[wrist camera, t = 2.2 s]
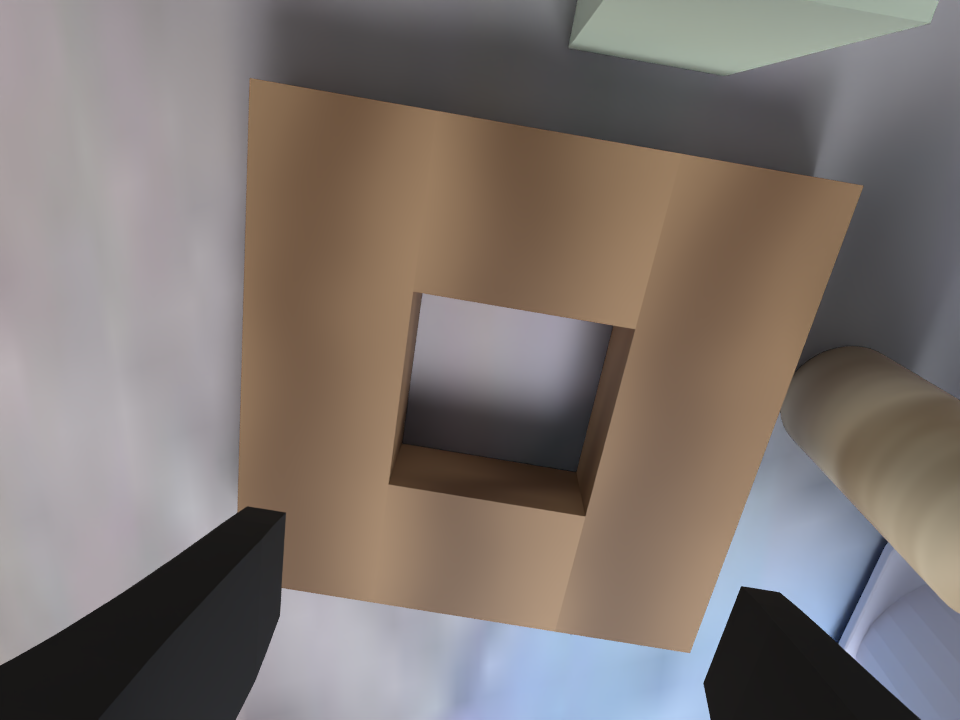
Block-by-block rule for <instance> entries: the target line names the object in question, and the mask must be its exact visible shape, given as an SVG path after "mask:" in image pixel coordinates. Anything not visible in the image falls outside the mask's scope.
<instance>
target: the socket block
mask: <svg viewBox="0 0 960 720" xmlns="http://www.w3.org/2000/svg"><path fill="white" fill-rule="evenodd" d="M862 189H863V186H862V185H857V184H851V183H845V182H840V181H834V180H828V179H823V178H817V177H811V176H805V175H800V174H794V173H788V172H783V171H777V170H771V169H766V168H760V167H754V166H748V165H743V164H737V163H731V162H726V161H720V160H714V159H708V158H703V157H697V156H691V155H686V154H680V153H674V152H669V151H663V150H657V149H651V148H646V147H640V146H634V145H629V144H623V143H617V142H612V141H606V140H600V139H594V138H589V137H583V136H577V135H572V134H566V133H560V132H554V131H549V130H543V129H537V128H532V127H526V126H520V125H515V124H509V123H503V122H497V121H492V120H486V119H480V118H475V117H469V116H463V115H458V114H452V113H446V112H440V111H435V110H429V109H423V108H418V107H412V106H406V105H401V104H395V103H389V102H383V101H378V100H372V99H366V98H361V97H355V96H349V95H343V94H338V93H332V92H326V91H321V90H315V89H309V88H304V87H298V86H292V85H286V84H281V83H275V82H269V81H264V80H258V79H252V78H250V86H249V121H248V157H247V192H246V228H245V263H244V299H243V335H242V370H241V406H240V441H239V477H238V512H239V511H241V510H242V509H244V508H245V507H247V506H249V507H255V508H262V509H268V510H274V511H280V512H286V523H285V539H284V556H283V572H282V588H286V589H292V590H298V591H305V592H311V593H317V594H323V595H330V596H336V597H342V598H348V599H355V600H361V601H367V602H373V603H380V604H386V605H392V606H399V607H405V608H411V609H417V610H424V611H430V612H436V613H442V614H449V615H455V616H461V617H467V618H474V619H480V620H486V621H492V622H499V623H505V624H511V625H518V626H524V627H530V628H536V629H543V630H549V631H555V632H561V633H568V634H574V635H580V636H586V637H593V638H599V639H605V640H611V641H618V642H624V643H630V644H637V645H643V646H649V647H655V648H662V649H668V650H674V651H680V652H687V653H690V651H691V649H692V646H693V643H694V641H695V638H696V635H697V633H698V630H699V627H700V625H701V622H702V619H703V616H704V614H705V611H706V608H707V606H708V603H709V600H710V598H711V595H712V592H713V590H714V587H715V584H716V581H717V579H718V576H719V573H720V571H721V568H722V565H723V563H724V560H725V557H726V555H727V552H728V549H729V547H730V544H731V541H732V538H733V536H734V533H735V530H736V528H737V525H738V522H739V520H740V517H741V514H742V512H743V509H744V506H745V503H746V501H747V498H748V495H749V493H750V490H751V487H752V485H753V482H754V479H755V477H756V474H757V471H758V469H759V466H760V463H761V460H762V458H763V455H764V452H765V450H766V447H767V444H768V442H769V439H770V436H771V434H772V431H773V428H774V425H775V423H776V420H777V417H778V415H779V412H780V409H781V407H782V404H783V401H784V399H785V396H786V393H787V391H788V388H789V385H790V382H791V380H792V377H793V374H794V372H795V369H796V366H797V364H798V361H799V358H800V356H801V353H802V350H803V347H804V345H805V342H806V339H807V337H808V334H809V331H810V329H811V326H812V323H813V321H814V318H815V315H816V313H817V310H818V307H819V304H820V302H821V299H822V296H823V294H824V291H825V288H826V286H827V283H828V280H829V278H830V275H831V272H832V269H833V267H834V264H835V261H836V259H837V256H838V253H839V251H840V248H841V245H842V243H843V240H844V237H845V235H846V232H847V229H848V226H849V224H850V221H851V218H852V216H853V213H854V210H855V208H856V205H857V202H858V200H859V197H860V194H861V191H862ZM422 293H425V294H430V295H436V296H442V297H448V298H454V299H460V300H466V301H472V302H478V303H484V304H489V305H495V306H501V307H507V308H513V309H519V310H525V311H531V312H537V313H543V314H548V315H554V316H560V317H566V318H572V319H578V320H584V321H590V322H596V323H602V324H607V325H613V329H612V333H611V337H610V341H609V345H608V349H607V353H606V357H605V361H604V365H603V369H602V373H601V377H600V381H599V385H598V389H597V392H596V396H595V400H594V404H593V408H592V412H591V416H590V420H589V424H588V428H587V432H586V436H585V440H584V444H583V448H582V452H581V456H580V460H579V464H578V468H577V472H572V471H565V470H559V469H553V468H547V467H541V466H535V465H529V464H523V463H517V462H511V461H505V460H499V459H493V458H487V457H481V456H474V455H468V454H462V453H456V452H450V451H444V450H438V449H432V448H426V447H420V446H414V445H408V444H402V440H403V433H404V425H405V418H406V411H407V403H408V396H409V388H410V381H411V373H412V366H413V358H414V351H415V343H416V336H417V328H418V321H419V313H420V306H421V299H422ZM238 512H237V513H238Z"/></svg>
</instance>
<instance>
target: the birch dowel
mask: <svg viewBox="0 0 960 720" xmlns="http://www.w3.org/2000/svg"><path fill="white" fill-rule="evenodd" d="M781 419H782V422H783V425H784V427H785V429H786V431H787V433H788V434H789V435H790V437H791V438H792V439H793V440H794V441H795V442H796V443H797V444H798V445H799V446H800V448H801V449H802V450H803V451H804V452H805V453H806V454H807V455H808V456H809V457H810V458H811V459H812V460H813V462H814V463H815V464H816V465H817V466H818V467H819V468H820V469H821V470H822V471H823V472H824V473H825V474H826V476H827V477H828V478H829V479H830V480H831V481H832V482H833V483H834V484H835V485H836V486H837V487H838V488H839V490H840V491H841V492H842V493H843V494H844V495H845V496H846V497H847V498H848V499H849V500H850V501H851V502H852V504H853V505H854V506H855V507H856V508H857V509H858V510H859V511H860V512H861V513H862V514H863V515H864V516H865V518H866V519H867V520H868V521H869V522H870V523H871V524H872V525H873V526H874V527H875V528H876V529H877V530H878V532H879V533H880V534H881V535H882V536H883V537H884V538H885V539H886V540H887V541H888V542H889V543H890V544H891V545H892V547H893V548H894V549H895V550H896V551H897V552H898V553H899V554H900V555H901V556H902V557H903V558H904V559H905V561H906V562H907V563H908V564H909V565H910V566H911V567H912V568H913V569H914V570H915V571H916V572H917V573H918V575H919V576H920V577H921V578H922V579H923V580H924V581H925V582H926V583H927V584H928V585H929V586H930V587H931V589H932V590H933V591H934V592H935V593H936V594H937V595H938V596H939V597H940V598H941V599H942V600H943V601H944V602H945V603H946V604H947V605H948V606H949V607H950V608H952V609H953V610H954V611H956V612H958V613H960V400H959V399H957V398H955V397H954V396H952V395H950V394H949V393H947V392H945V391H944V390H942V389H940V388H939V387H937V386H935V385H933V384H932V383H930V382H928V381H927V380H925V379H923V378H922V377H920V376H918V375H917V374H915V373H913V372H912V371H910V370H908V369H906V368H905V367H903V366H901V365H900V364H898V363H896V362H895V361H893V360H891V359H890V358H888V357H886V356H885V355H883V354H881V353H879V352H877V351H875V350H872V349H869V348H865V347H858V346H846V347H839V348H835V349H831V350H828V351H825V352H823V353H821V354H819V355H817V356H815V357H813V358H812V359H810V360H809V361H807V362H806V363H805V364H804V365H802V366H801V367H800V368H799V369H798V370H797V371H796V372H795V374H794V375H793V377H792V380H791V382H790V385H789V388H788V391H787V393H786V396H785V399H784V401H783V404H782V407H781Z"/></svg>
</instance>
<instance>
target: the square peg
mask: <svg viewBox="0 0 960 720" xmlns="http://www.w3.org/2000/svg"><path fill="white" fill-rule="evenodd" d="M938 2H939V0H577V5H576V11H575V16H574V21H573V26H572V31H571V37H570V42H569V47H568V48H570V49H576V50H581V51H587V52H593V53H598V54H604V55H610V56H615V57H621V58H626V59H632V60H638V61H643V62H649V63H654V64H660V65H666V66H671V67H677V68H683V69H688V70H694V71H699V72H705V73H711V74H716V75H722V76H727V75H731V74H735V73H738V72H742V71H746V70H750V69H754V68H758V67H762V66H766V65H770V64H774V63H777V62H781V61H785V60H789V59H793V58H797V57H801V56H805V55H809V54H812V53H816V52H820V51H824V50H828V49H832V48H836V47H840V46H844V45H848V44H851V43H855V42H859V41H863V40H867V39H871V38H875V37H879V36H883V35H887V34H890V33H894V32H898V31H902V30H906V29H910V28H914V27H918V26H922V25H926V24H929V23H931V20H932V18H933V15H934V12H935V10H936V7H937V4H938Z"/></svg>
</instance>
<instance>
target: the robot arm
mask: <svg viewBox="0 0 960 720" xmlns="http://www.w3.org/2000/svg"><path fill="white" fill-rule="evenodd" d="M285 523H286V512H280V511H274V510H268V509H262V508H255V507H249V506H247V507H245V508H244V509H242V510H241V511H239V512H238V513H236V514H235V515H234V516H232V517H231V518H229V519H228V520H226V521H225V522H224V523H222V524H221V525H219V526H218V527H217V528H215V529H214V530H212V531H211V532H210V533H208V534H207V535H205V536H204V537H203V538H201V539H200V540H198V541H197V542H196V543H194V544H193V545H191V546H190V547H189V548H187V549H186V550H184V551H183V552H181V553H180V554H179V555H177V556H176V557H174V558H173V559H172V560H170V561H169V562H167V563H166V564H164V565H163V566H161V567H160V568H158V569H157V570H155V571H154V572H152V573H151V574H150V575H148V576H147V577H145V578H144V579H142V580H141V581H139V582H138V583H136V584H135V585H133V586H132V587H130V588H129V589H127V590H126V591H124V592H123V593H121V594H120V595H118V596H117V597H115V598H114V599H112V600H110V601H109V602H107V603H106V604H104V605H102V606H101V607H99V608H98V609H96V610H94V611H93V612H91V613H90V614H88V615H86V616H85V617H83V618H82V619H80V620H78V621H77V622H75V623H74V624H72V625H70V626H69V627H67V628H66V629H64V630H62V631H61V632H59V633H57V634H56V635H54V636H52V637H51V638H49V639H47V640H45V641H44V642H42V643H40V644H39V645H37V646H35V647H33V648H31V649H30V650H28V651H26V652H24V653H23V654H21V655H19V656H17V657H15V658H14V659H12V660H10V661H8V662H6V663H4V664H2V665H0V720H236V718H237V716H238V714H239V712H240V710H241V708H242V706H243V704H244V702H245V700H246V698H247V696H248V694H249V692H250V690H251V688H252V686H253V684H254V682H255V680H256V678H257V675H258V672H259V670H260V667H261V665H262V662H263V660H264V657H265V654H266V652H267V649H268V647H269V644H270V641H271V638H272V636H273V633H274V630H275V628H276V625H277V622H278V619H279V617H280V605H281V588H282V572H283V556H284V539H285ZM704 688H705V693H706V698H707V703H708V708H709V713H710V718H711V720H960V613H958V612H956V611H954V610H953V609H952V608H950V607H949V606H948V605H947V604H946V603H945V602H944V601H943V600H942V599H941V598H940V597H939V596H938V595H937V594H936V593H935V592H934V591H933V590H932V589H931V587H930V586H929V585H928V584H927V583H926V582H925V581H924V580H923V579H922V578H921V577H920V576H919V575H918V573H917V572H916V571H915V570H914V569H913V568H912V567H911V566H910V565H909V564H908V563H907V562H906V561H905V559H904V558H903V557H902V556H901V555H900V554H899V553H898V552H897V551H896V550H895V549H894V548H893V547H892V545H891V544H890V543H889V542H888V543H887V545H886V546H885V548H884V550H883V552H882V554H881V556H880V558H879V560H878V562H877V564H876V566H875V568H874V571H873V573H872V575H871V577H870V579H869V581H868V583H867V585H866V587H865V589H864V591H863V593H862V596H861V598H860V600H859V602H858V604H857V606H856V608H855V610H854V612H853V614H852V616H851V618H850V620H849V623H848V625H847V627H846V629H845V631H844V633H843V635H842V637H841V639H840V641H839V643H837V642H835V641H834V640H833V639H832V638H831V637H830V636H829V635H828V634H827V633H826V632H825V631H823V630H822V629H821V628H820V627H819V626H818V625H817V624H816V623H815V622H814V621H812V620H811V619H810V618H809V617H808V616H807V615H806V614H805V613H803V612H802V611H801V610H800V609H799V608H798V607H797V606H795V605H794V604H793V603H792V602H791V601H789V600H788V599H787V598H786V597H785V596H783V595H782V594H781V593H780V592H774V591H768V590H762V589H755V588H749V587H743V586H741V588H740V591H739V593H738V596H737V599H736V601H735V604H734V606H733V609H732V611H731V614H730V617H729V619H728V622H727V624H726V627H725V629H724V632H723V634H722V637H721V640H720V642H719V645H718V647H717V650H716V652H715V655H714V657H713V660H712V663H711V665H710V668H709V670H708V673H707V675H706V678H705V680H704Z"/></svg>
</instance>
